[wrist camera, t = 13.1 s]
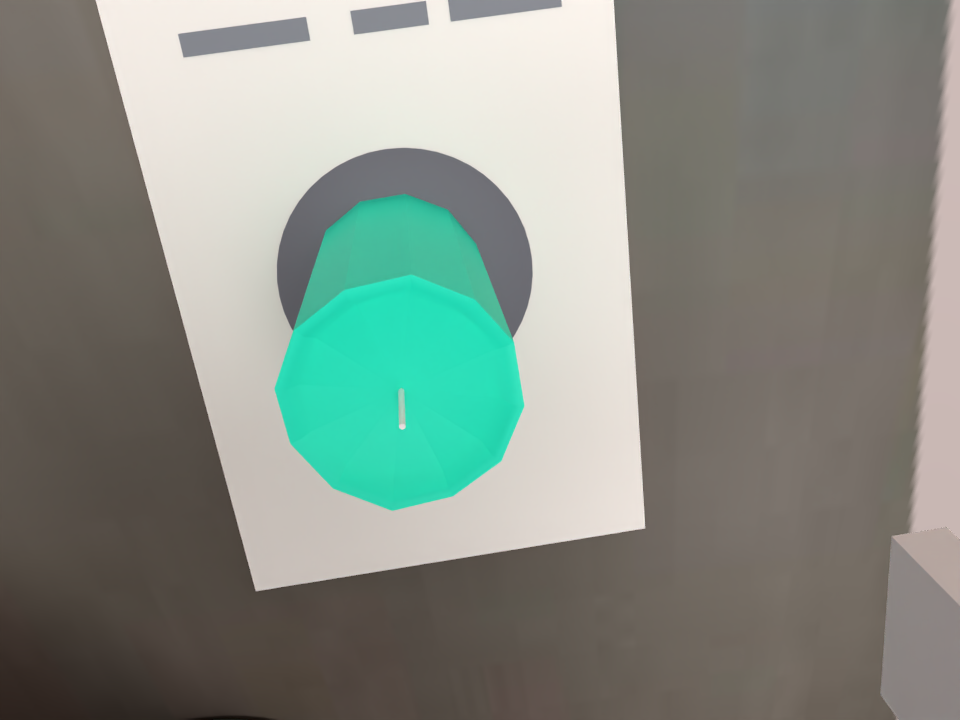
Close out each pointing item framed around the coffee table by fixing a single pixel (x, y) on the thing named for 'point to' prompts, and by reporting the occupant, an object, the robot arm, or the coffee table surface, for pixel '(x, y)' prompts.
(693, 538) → the coffee table surface
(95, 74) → the coffee table surface
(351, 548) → the paper pad
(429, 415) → the candle
